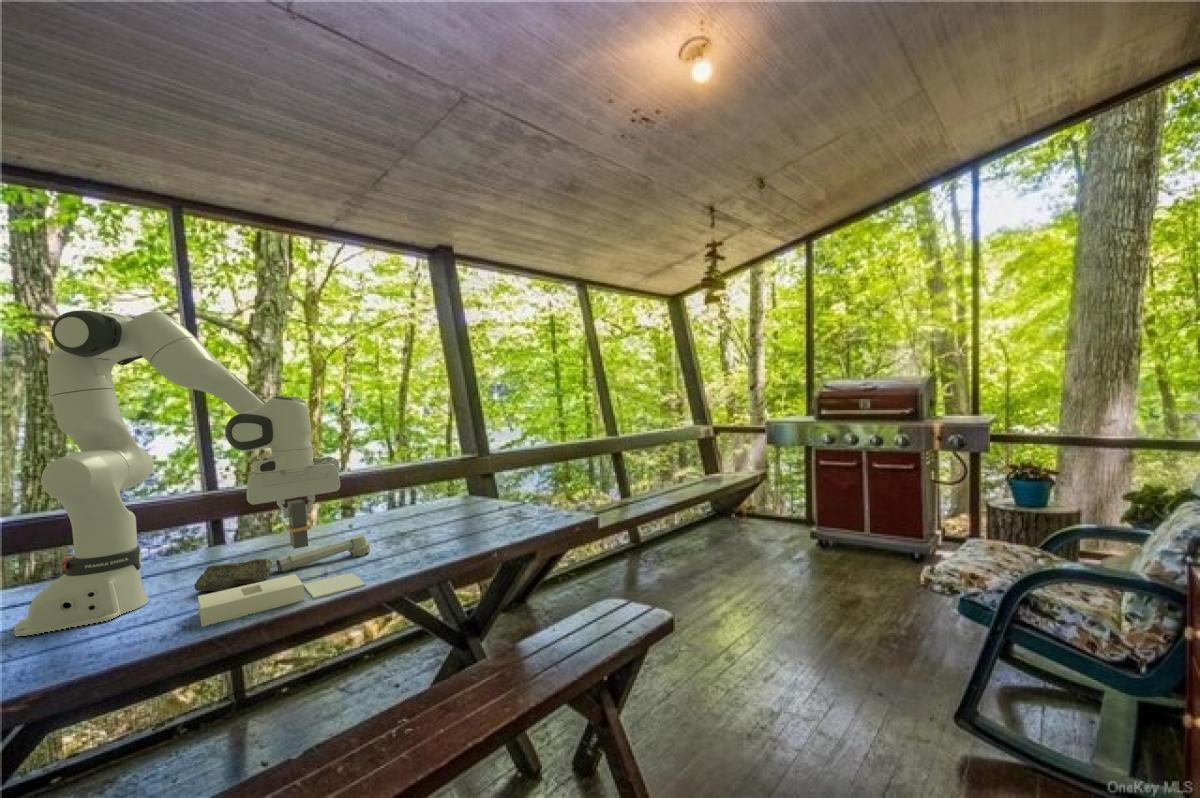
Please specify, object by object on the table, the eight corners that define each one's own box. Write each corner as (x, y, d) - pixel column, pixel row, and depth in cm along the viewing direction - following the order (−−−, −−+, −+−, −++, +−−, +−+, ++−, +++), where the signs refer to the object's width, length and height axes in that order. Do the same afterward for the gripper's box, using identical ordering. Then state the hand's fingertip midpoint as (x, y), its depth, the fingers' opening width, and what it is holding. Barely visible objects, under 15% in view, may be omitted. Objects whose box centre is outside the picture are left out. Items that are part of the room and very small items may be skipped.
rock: (270, 556, 149) (273, 555, 141) (271, 581, 147) (274, 581, 140) (195, 568, 139) (193, 567, 131) (195, 594, 137) (193, 595, 129)
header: (201, 626, 114) (200, 608, 114) (198, 613, 121) (197, 596, 121) (304, 600, 127) (303, 584, 127) (295, 589, 135) (295, 574, 134)
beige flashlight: (274, 557, 151) (364, 528, 166) (279, 579, 151) (368, 548, 167) (277, 561, 147) (369, 531, 162) (282, 584, 147) (373, 552, 163)
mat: (314, 599, 128) (314, 597, 128) (303, 586, 137) (303, 584, 137) (365, 585, 135) (365, 583, 135) (352, 574, 144) (352, 572, 144)
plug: (291, 550, 126) (288, 505, 126) (286, 545, 131) (283, 501, 131) (312, 545, 129) (308, 501, 129) (306, 540, 134) (303, 498, 134)
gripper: (335, 454, 139) (338, 505, 139) (243, 465, 126) (247, 521, 126) (341, 455, 134) (345, 508, 134) (246, 467, 121) (251, 526, 121)
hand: (297, 515), depth 130 cm, fingers closed on plug, 3 cm apart
